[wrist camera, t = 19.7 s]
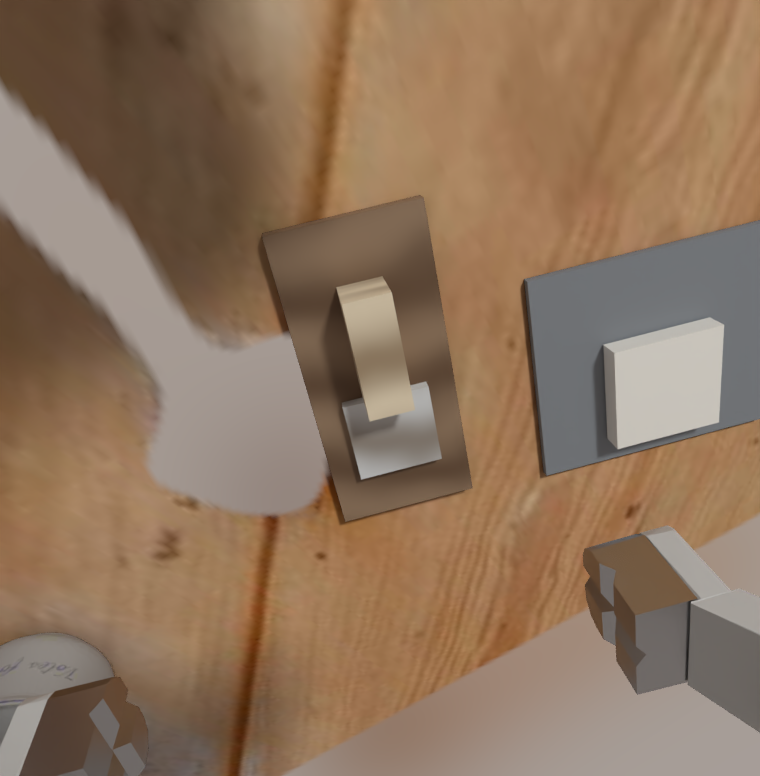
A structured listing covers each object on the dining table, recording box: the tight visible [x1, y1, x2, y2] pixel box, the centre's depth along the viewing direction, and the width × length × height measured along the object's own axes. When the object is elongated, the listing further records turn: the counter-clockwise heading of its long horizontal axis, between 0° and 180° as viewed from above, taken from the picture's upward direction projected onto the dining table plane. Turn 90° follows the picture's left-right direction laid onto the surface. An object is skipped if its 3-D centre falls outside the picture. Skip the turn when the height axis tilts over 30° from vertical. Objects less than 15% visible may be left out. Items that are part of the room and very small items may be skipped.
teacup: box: [0, 633, 114, 746], centre depth 46 cm, size 14×11×8 cm
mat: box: [524, 220, 760, 476], centre depth 46 cm, size 16×18×1 cm
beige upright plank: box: [336, 276, 442, 480], centre depth 41 cm, size 14×6×4 cm, turn 11°
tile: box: [603, 317, 724, 449], centre depth 45 cm, size 2×8×8 cm
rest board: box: [262, 195, 472, 522], centre depth 43 cm, size 22×10×1 cm, turn 12°
